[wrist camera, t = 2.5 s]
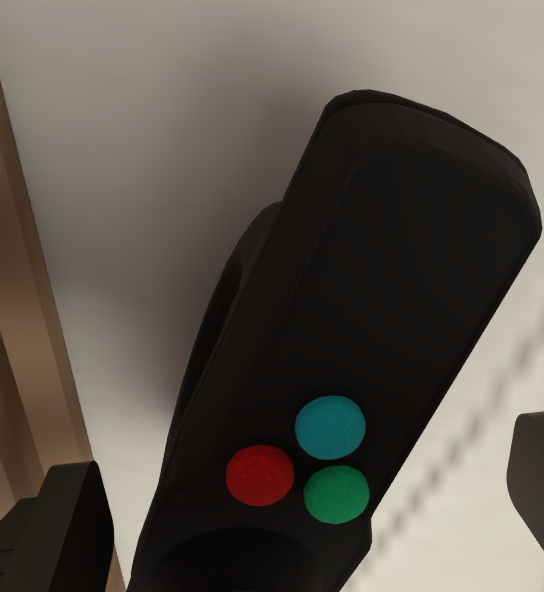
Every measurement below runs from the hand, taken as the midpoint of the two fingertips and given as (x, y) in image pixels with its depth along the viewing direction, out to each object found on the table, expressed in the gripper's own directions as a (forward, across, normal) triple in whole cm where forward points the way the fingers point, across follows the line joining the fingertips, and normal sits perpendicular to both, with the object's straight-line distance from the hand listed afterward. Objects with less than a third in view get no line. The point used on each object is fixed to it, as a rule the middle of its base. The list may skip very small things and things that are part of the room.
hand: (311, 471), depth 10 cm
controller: (+7, 0, -1) cm, 7 cm away
